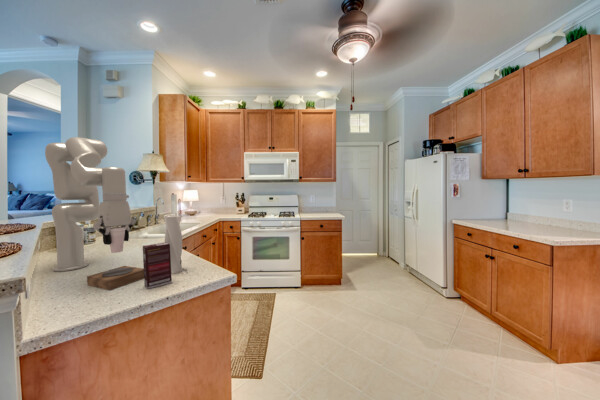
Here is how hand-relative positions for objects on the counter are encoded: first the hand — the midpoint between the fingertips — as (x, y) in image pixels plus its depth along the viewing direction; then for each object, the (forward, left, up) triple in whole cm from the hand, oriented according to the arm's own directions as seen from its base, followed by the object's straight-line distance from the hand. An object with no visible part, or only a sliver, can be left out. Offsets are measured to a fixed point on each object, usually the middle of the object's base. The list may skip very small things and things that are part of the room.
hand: (116, 242), depth 97 cm
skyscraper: (+12, +17, -17) cm, 27 cm away
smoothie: (0, 0, -4) cm, 4 cm away
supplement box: (+19, +3, -16) cm, 25 cm away
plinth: (0, 0, -16) cm, 16 cm away
